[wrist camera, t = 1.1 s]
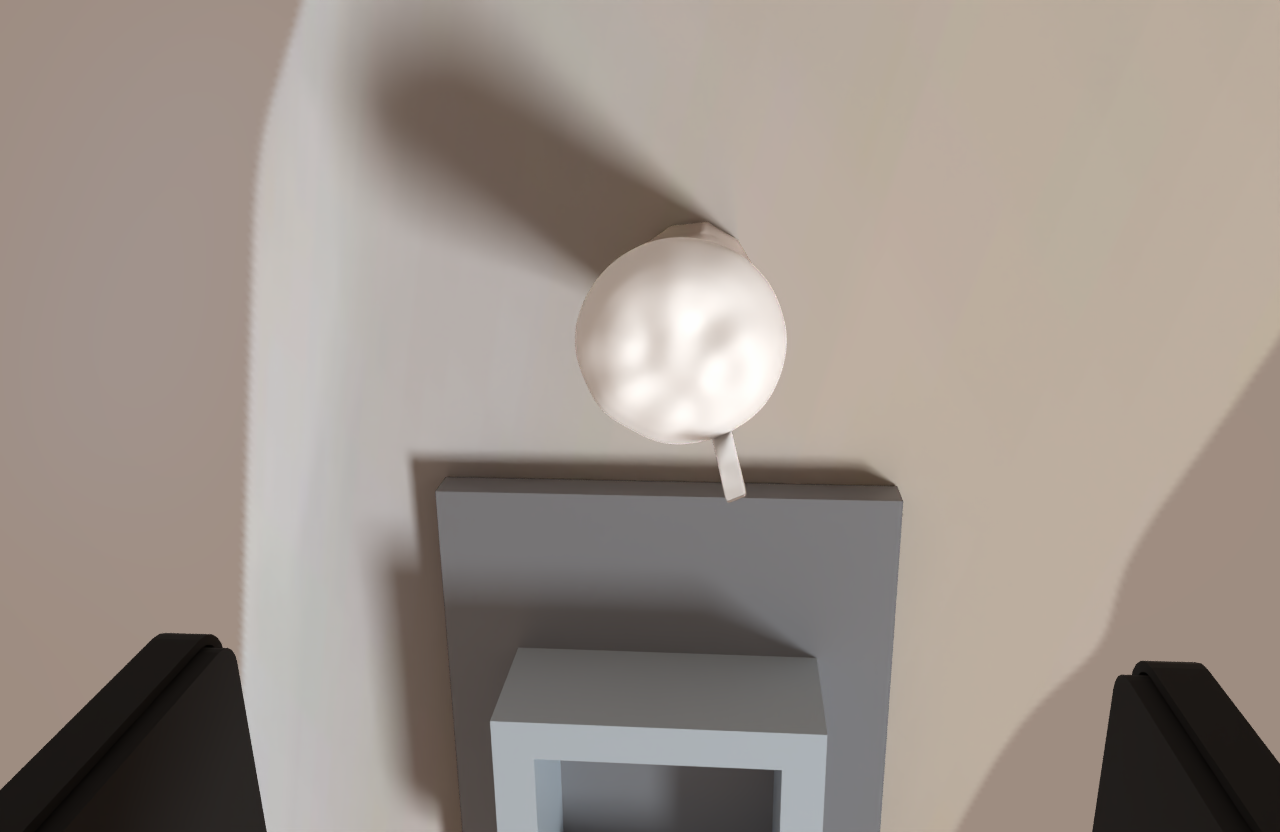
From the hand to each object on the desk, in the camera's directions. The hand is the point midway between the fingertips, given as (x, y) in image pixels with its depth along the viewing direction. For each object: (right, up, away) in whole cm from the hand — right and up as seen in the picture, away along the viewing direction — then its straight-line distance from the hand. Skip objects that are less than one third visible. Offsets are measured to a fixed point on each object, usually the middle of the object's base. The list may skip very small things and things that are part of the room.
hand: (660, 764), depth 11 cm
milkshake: (+2, +7, +19) cm, 21 cm away
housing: (+1, -8, +24) cm, 25 cm away
